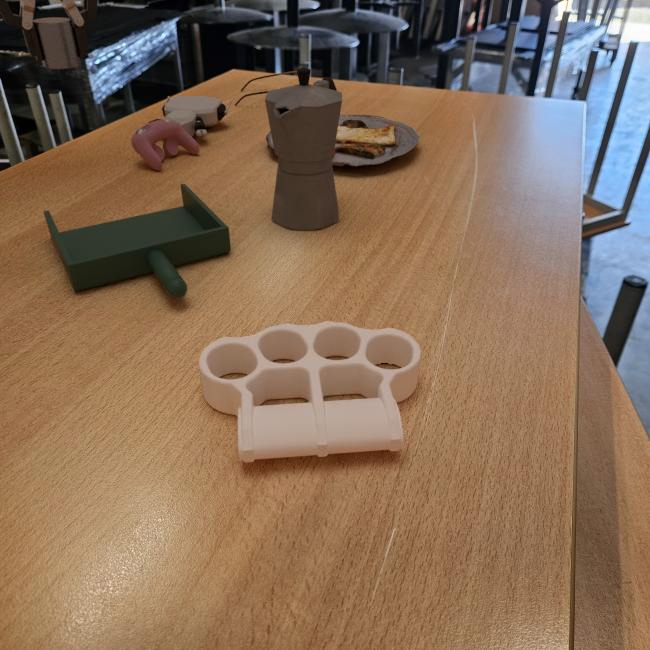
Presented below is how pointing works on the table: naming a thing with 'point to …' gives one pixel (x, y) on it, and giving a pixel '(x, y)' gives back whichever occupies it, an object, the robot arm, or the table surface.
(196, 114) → the robot toy
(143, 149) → the pink curved piece
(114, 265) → the scoop
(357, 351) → the white brass knuckles
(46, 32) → the metal canister
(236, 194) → the table surface
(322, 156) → the coffeepot
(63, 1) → the robot arm
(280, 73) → the sunglasses
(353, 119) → the food plate
